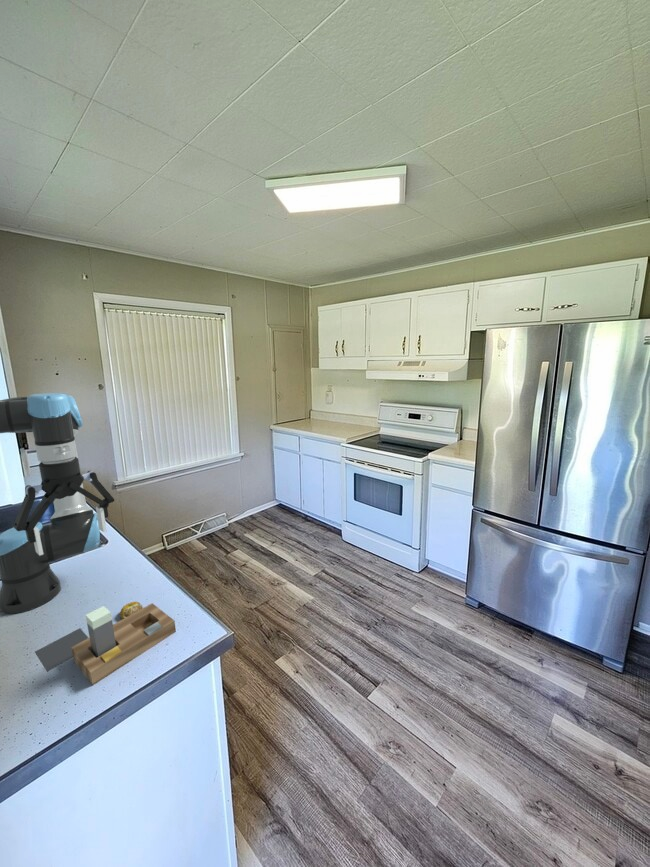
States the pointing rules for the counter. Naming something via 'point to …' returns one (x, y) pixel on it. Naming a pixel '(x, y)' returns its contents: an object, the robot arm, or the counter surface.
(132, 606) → the fruit
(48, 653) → the mat
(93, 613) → the plug
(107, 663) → the socket block
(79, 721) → the counter surface
